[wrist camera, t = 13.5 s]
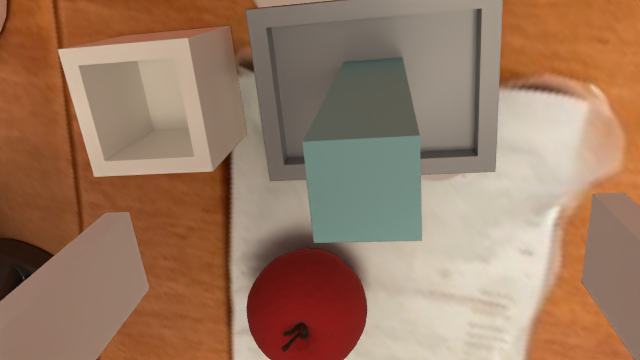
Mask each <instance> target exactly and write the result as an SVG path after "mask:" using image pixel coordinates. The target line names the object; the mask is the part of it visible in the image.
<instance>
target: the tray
mask: <svg viewBox="0 0 640 360" xmlns="http://www.w3.org/2000/svg"><path fill="white" fill-rule="evenodd" d="M502 6H503V0H334V1H324V2H314V3H304V4H293V5H283V6H272V7H263V8H254V9H249V10H246V16H247V23H248V30H249V37H250V44H251V51H252V58H253V65H254V72H255V79H256V86H257V93H258V100H259V107H260V114H261V121H262V128H263V135H264V142H265V149H266V156H267V163H268V170H269V177H270V181H284V180H307V178H306V169H305V160H304V151H303V140H304V138H305V136H306V134H307V132H308V130H309V128H310V126H311V124H312V122H313V120H314V118H315V116H316V115H317V113H318V111H319V109H320V107H321V105H322V103H323V101H324V99H325V97H326V95H327V93H328V91H329V89H330V87H331V85H332V84H333V82H334V80H335V78H336V76H337V74H338V72H339V70H340V68H341V66H342V64H343V62H348V61H361V60H374V59H387V58H400V57H403V62H404V66H405V71H406V75H407V80H408V84H409V89H410V93H411V98H412V102H413V107H414V111H415V116H416V120H417V124H418V129H419V133H420V164H421V175H428V174H429V175H430V174H454V173H479V172H495V168H496V145H497V122H498V99H499V76H500V52H501V29H502Z"/></svg>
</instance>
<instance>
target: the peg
mask: <svg viewBox="0 0 640 360" xmlns="http://www.w3.org/2000/svg"><path fill="white" fill-rule="evenodd" d="M303 151H304V160H305V169H306V178H307V187H308V196H309V204H310V213H311V222H312V231H313V240H314V243H333V242H381V241H422V219H421V164H420V133H419V129H418V124H417V120H416V116H415V111H414V107H413V102H412V98H411V93H410V89H409V84H408V80H407V75H406V71H405V66H404V62H403V57H400V58H387V59H374V60H361V61H348V62H343V64H342V66H341V68H340V70H339V72H338V74H337V76H336V78H335V80H334V82H333V84H332V85H331V87H330V89H329V91H328V93H327V95H326V97H325V99H324V101H323V103H322V105H321V107H320V109H319V111H318V113H317V115H316V116H315V118H314V120H313V122H312V124H311V126H310V128H309V130H308V132H307V134H306V136H305V138H304V140H303Z"/></svg>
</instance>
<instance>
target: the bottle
mask: <svg viewBox="0 0 640 360" xmlns="http://www.w3.org/2000/svg"><path fill="white" fill-rule="evenodd" d="M6 11H7V0H0V31H1V29H2V26H3V24H4V21H5V18H6Z"/></svg>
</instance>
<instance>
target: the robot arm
mask: <svg viewBox="0 0 640 360" xmlns="http://www.w3.org/2000/svg"><path fill="white" fill-rule="evenodd" d="M582 283H583V285H584V286H585V288H586V289H587V291H588V292H589V294H590V295H591V297H592V298H593V299H594V301H595V302H596V304H597V305H598V307H599V308H600V310H601V311H602V313H603V314H604V316H605V317H606V319H607V320H608V322H609V323H610V325H611V326H612V327H613V329H614V330H615V332H616V333H617V335H618V336H619V338H620V339H621V341H622V342H623V344H624V345H625V347H626V348H627V350H628V351H629V352H630V354H631V355H632V357H633V358H634V360H640V206H639V205H638V204H637V203H635V202H634V201H633V200H632V199H631V198H630V197H628V196H627V195H626V194H625V193H603V194H593V197H592V205H591V213H590V221H589V229H588V237H587V245H586V253H585V261H584V269H583V277H582ZM148 290H149V286H148V282H147V278H146V274H145V270H144V267H143V263H142V259H141V255H140V252H139V248H138V244H137V240H136V237H135V233H134V229H133V225H132V221H131V218H130V214H129V212H112V213H105V214H103V215H102V216H101V217H100V218H99V219H97V220H96V221H95V222H94V223H93V224H91V225H90V226H89V227H88V228H87V229H86V230H84V231H83V232H82V233H81V234H80V235H78V236H77V237H76V238H75V239H74V240H73V241H71V242H70V243H69V244H68V245H67V246H65V247H64V248H63V249H62V250H61V251H59V252H58V253H57V254H56V255H55V256H54V257H52V256H51V255H49V254H48V253H46V252H44V251H42V250H40V249H38V248H36V247H34V246H31V245H29V244H26V243H23V242H19V241H15V240H9V239H0V360H96V359H97V358H98V357H99V355H100V354H101V353H102V351H103V350H104V349H105V347H106V346H107V345H108V343H109V342H110V341H111V339H112V338H113V337H114V335H115V334H116V333H117V331H118V330H119V329H120V327H121V326H122V325H123V323H124V322H125V321H126V319H127V318H128V317H129V315H130V314H131V313H132V311H133V310H134V309H135V307H136V306H137V305H138V303H139V302H140V301H141V299H142V298H143V297H144V295H145V294H146V293H147V291H148Z"/></svg>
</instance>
